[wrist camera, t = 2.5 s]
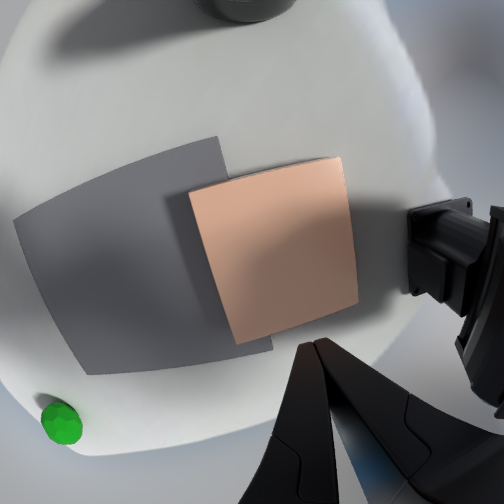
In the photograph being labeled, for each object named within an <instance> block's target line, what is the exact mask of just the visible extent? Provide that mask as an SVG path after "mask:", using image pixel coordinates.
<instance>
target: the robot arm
mask: <svg viewBox="0 0 504 504" xmlns="http://www.w3.org/2000/svg"><path fill="white" fill-rule="evenodd" d="M466 204H467V206H466ZM414 215H416V218H415V220H413V217H414ZM490 216H491V218H490V223H488V222H486V221H483V220H481V219H478V218H476V217H473V216H472V200H471V199H470V198H467V197H464V198H460V199H455V200H451V201H447V202H443V203H438V204H434V205H430V206H426V207H422V208H418V209H413V210H411V211H410V212H409V213H408V215H407V222H408V241H409V243H408V277H409V293H410V294H411V295H412V296H418V295H421V294H423V293H426V292H427V293H428V294H429V295H431V296H432V297H433V298H434V299H435V300H436V301H438V302H439V303H445V304H447V305H448V306H449V307H450V308H451V309H452V310H453V311H454V312H456V313H457V314H458V315H459V316H460V317H464V316H466V315H467V316H466V319H465V321H464V324H463V327H462V330H461V332H460V334H459V336H457V339H456V341H455V346H456V349H457V351H458V353H459V355H460V358H461V360H462V363H463V365H464V368H465V370H466V372H467V375H468V378H469V380H470V383H471V389H472V391H473V392H474V393H475V394H476V395H477V396H478V397H479V398H480V399H481V400H482V401H483V402H485V403H487V404H488V405H491V406H493V407H495V408H497V410H496V412H495V413H494V417H495V418H497V419H504V207H498V206H492V205H491V208H490ZM415 288H416V290H415ZM414 290H415V291H414ZM331 416H332V419H333V421H334V423H335V426H336V428H337V430H338V433H339V435H340V437H341V439H342V442H343V444H344V447H345V449H346V451H347V454H348V456H349V458H350V461H351V463H352V465H353V468H354V470H355V473H356V475H357V477H358V480H359V482H360V484H361V487H362V489H363V492H364V494H365V496H366V499H367V501H368V503H369V504H504V435H498V434H494V433H491V432H488V431H486V430H483V429H481V428H478V427H476V426H473V425H471V424H469V423H467V422H464V421H462V420H459V419H457V418H455V417H453V416H451V415H448V414H446V413H444V412H442V411H440V410H438V409H436V408H434V407H433V406H431V405H429V404H428V403H426V402H424V401H423V400H421V399H419V398H418V397H416V396H414V395H413V394H409V392H408V391H407V390H405V389H404V388H402V387H401V386H399V385H397V384H396V383H394V382H393V381H391V380H390V379H388V378H387V377H385V376H384V375H382V374H381V373H379V372H378V371H376V370H375V369H373V368H372V367H370V366H369V365H367V364H366V363H364V362H363V361H361V360H360V359H358V358H357V357H355V356H354V355H352V354H351V353H349V352H348V351H346V350H345V349H343V348H342V347H340V346H339V345H337V344H336V343H335V342H333V341H332V340H330V339H329V338H321V339H318V340H315V341H314V342H306V343H302V344H299V345H298V348H297V352H296V355H295V359H294V362H293V366H292V370H291V373H290V377H289V380H288V383H287V387H286V390H285V393H284V397H283V400H282V403H281V406H280V410H279V413H278V416H277V419H276V422H275V425H274V428H273V431H272V436H271V437H270V440H269V442H268V445H267V448H266V451H265V453H264V456H263V458H262V461H261V463H260V465H259V467H258V469H257V471H256V473H255V475H254V477H253V479H252V481H251V483H250V484H249V486H248V488H247V490H246V491H245V493H244V494H243V496H242V498H241V499H240V501H239V503H238V504H339V492H338V479H337V469H336V458H335V448H334V441H333V431H332V423H331Z"/></svg>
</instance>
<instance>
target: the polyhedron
mask: <svg viewBox="0 0 504 504" xmlns="http://www.w3.org/2000/svg"><path fill="white" fill-rule="evenodd" d="M41 423H42V425H43V427H44V429H45V431H46V433H47V434H48V436H49V438H50V439H51V440H53V441H54V442H56V443H58V444H63V445H67V444H75V443H76V442H77V441H78V440H79V439H80V438H81V436H82V428H83V425H82V421H81V419H80V418H79V416H78V414H77V412H76V411H75V410H74V409H72V408H71V407H69V406H67V405H66V404H63V403H52V404H50V405H49V406H48V407H47V408H45V409H44V411H43V412H42V414H41Z"/></svg>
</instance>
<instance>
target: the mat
mask: <svg viewBox="0 0 504 504" xmlns="http://www.w3.org/2000/svg"><path fill="white" fill-rule="evenodd" d="M225 180H229V178H228V174H227V171H226V167H225V163H224V159H223V155H222V151H221V147H220V144H219V140H218V137H217V136H215V137H211V138H207V139H204V140H200V141H197V142H194V143H190V144H187V145H184V146H181V147H177V148H174V149H171V150H168V151H165V152H162V153H159V154H156V155H153V156H151V157H148V158H145V159H142V160H140V161H137V162H134V163H132V164H129V165H126V166H124V167H121V168H119V169H116V170H114V171H111V172H109V173H107V174H104V175H102V176H100V177H97V178H95V179H93V180H90V181H88V182H86V183H84V184H82V185H79V186H77V187H75V188H73V189H71V190H69V191H67V192H65V193H63V194H61V195H59V196H57V197H55V198H53V199H51V200H49V201H47V202H45V203H43V204H41V205H39V206H38V207H36V208H34V209H32V210H30V211H28V212H27V213H25V214H23V215H21V216H20V217H18V218H16V219H15V220H13V222H14V225H15V229H16V232H17V235H18V238H19V241H20V244H21V247H22V249H23V252H24V255H25V257H26V260H27V263H28V265H29V268H30V270H31V273H32V275H33V277H34V280H35V282H36V284H37V287H38V289H39V291H40V293H41V295H42V297H43V299H44V302H45V304H46V306H47V308H48V310H49V312H50V314H51V315H52V317H53V319H54V321H55V323H56V325H57V327H58V329H59V330H60V332H61V334H62V336H63V337H64V339H65V341H66V343H67V344H68V346H69V348H70V349H71V351H72V352H73V354H74V356H75V357H76V359H77V360H78V362H79V363H80V365H81V366H82V368H83V369H84V371H85V372H86V374H87V375H100V374H116V373H130V372H141V371H151V370H160V369H168V368H176V367H183V366H190V365H197V364H203V363H209V362H215V361H221V360H227V359H232V358H237V357H242V356H247V355H252V354H257V353H262V352H266V351H271V350H273V346H272V341H271V337H270V335H268V336H265V337H262V338H258V339H255V340H252V341H248V342H245V343H241V344H238V345H236V342H235V339H234V336H233V333H232V330H231V327H230V325H229V322H228V319H227V316H226V313H225V310H224V307H223V304H222V301H221V298H220V295H219V292H218V289H217V286H216V283H215V279H214V276H213V273H212V270H211V267H210V264H209V261H208V257H207V254H206V251H205V248H204V244H203V241H202V238H201V234H200V231H199V228H198V224H197V221H196V217H195V214H194V211H193V207H192V204H191V200H190V197H189V191H190V190H193V189H197V188H200V187H204V186H207V185H211V184H214V183H218V182H222V181H225Z"/></svg>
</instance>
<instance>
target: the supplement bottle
mask: <svg viewBox="0 0 504 504" xmlns="http://www.w3.org/2000/svg"><path fill="white" fill-rule="evenodd" d="M194 2H195V3H196V4H197V5H198V6H199V7H200V8H201V9H202V10H204V11H205V12H207V13H208V14H210V15H212V16H215V17H217V18H220V19H224V20H228V21H235V22H256V21H263V20H267V19H270V18H273V17H276V16H278V15H280V14H282V13H284V12H285V11H287V10H288V9H289V8H290V7H292V6H293V4H294V3H295V2H296V0H194Z"/></svg>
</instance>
